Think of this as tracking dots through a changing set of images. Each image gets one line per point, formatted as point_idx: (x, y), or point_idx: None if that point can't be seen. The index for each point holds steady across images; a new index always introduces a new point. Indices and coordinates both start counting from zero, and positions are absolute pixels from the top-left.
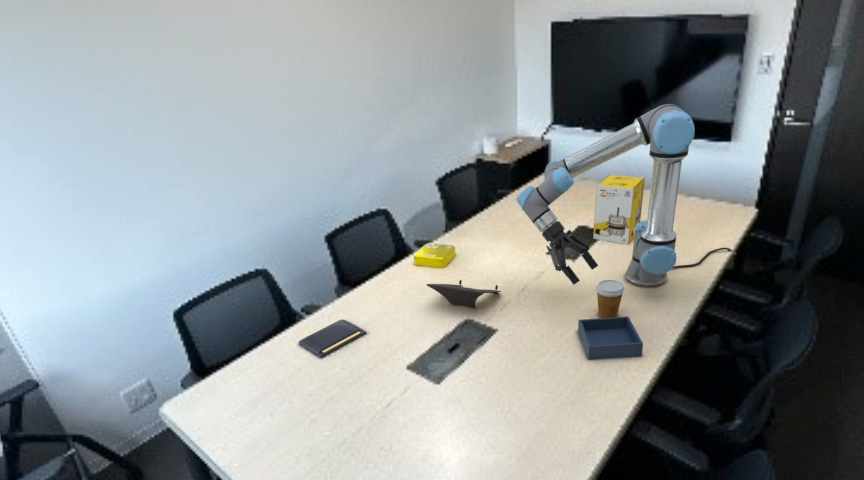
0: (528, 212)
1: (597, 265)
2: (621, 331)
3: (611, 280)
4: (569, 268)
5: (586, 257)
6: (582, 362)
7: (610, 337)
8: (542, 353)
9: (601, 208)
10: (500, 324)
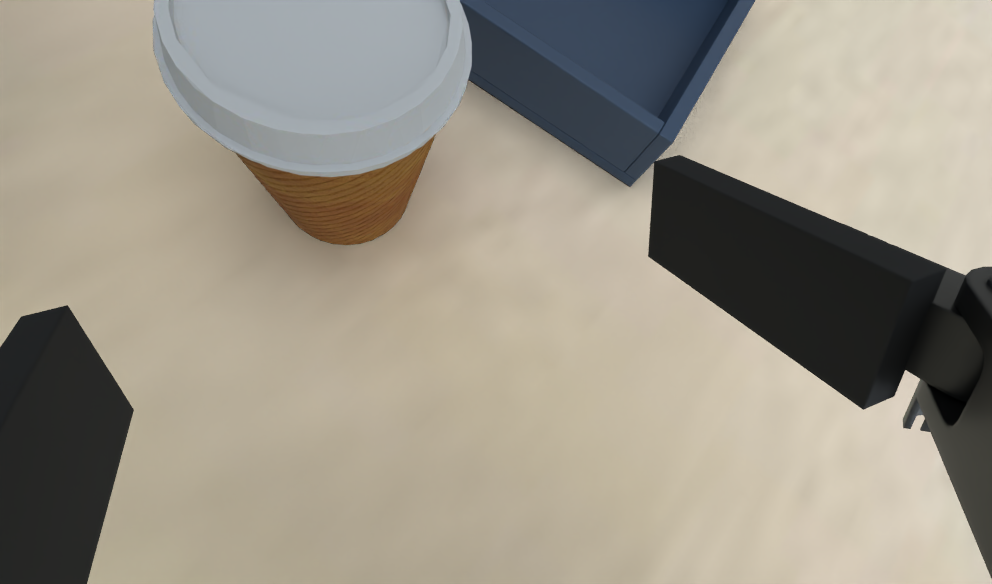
0: None
1: (47, 314)
2: None
3: (192, 66)
4: (878, 241)
5: (23, 580)
6: (770, 8)
7: (546, 13)
8: (886, 173)
9: None
10: (970, 573)
